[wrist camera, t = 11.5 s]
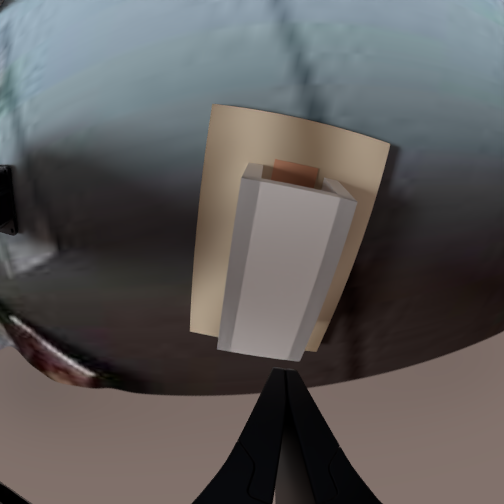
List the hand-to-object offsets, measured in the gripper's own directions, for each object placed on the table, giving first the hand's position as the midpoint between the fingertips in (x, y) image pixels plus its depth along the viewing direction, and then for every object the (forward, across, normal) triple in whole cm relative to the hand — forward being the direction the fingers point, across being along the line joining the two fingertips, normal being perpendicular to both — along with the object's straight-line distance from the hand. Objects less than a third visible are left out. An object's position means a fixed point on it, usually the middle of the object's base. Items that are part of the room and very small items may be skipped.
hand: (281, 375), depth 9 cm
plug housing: (+9, 0, 0) cm, 9 cm away
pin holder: (+10, 0, 0) cm, 10 cm away
